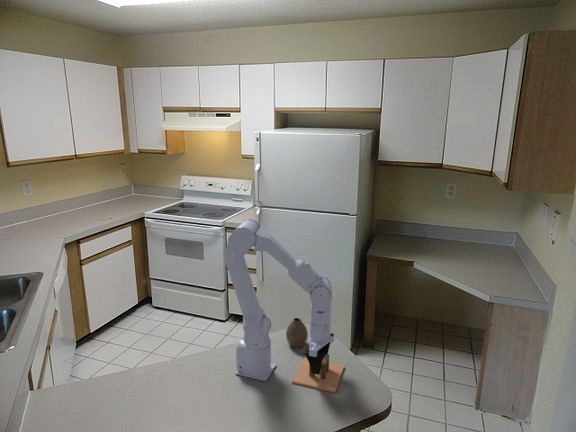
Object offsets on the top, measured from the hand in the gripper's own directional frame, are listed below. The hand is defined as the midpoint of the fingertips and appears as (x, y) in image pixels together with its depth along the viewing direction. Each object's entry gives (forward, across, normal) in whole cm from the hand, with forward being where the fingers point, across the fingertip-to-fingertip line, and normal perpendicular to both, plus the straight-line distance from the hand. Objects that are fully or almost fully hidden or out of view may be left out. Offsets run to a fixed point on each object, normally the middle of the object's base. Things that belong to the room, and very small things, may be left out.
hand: (319, 365), depth 112 cm
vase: (+3, +13, +11) cm, 17 cm away
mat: (+3, 0, 0) cm, 3 cm away
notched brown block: (+2, 0, 0) cm, 2 cm away
